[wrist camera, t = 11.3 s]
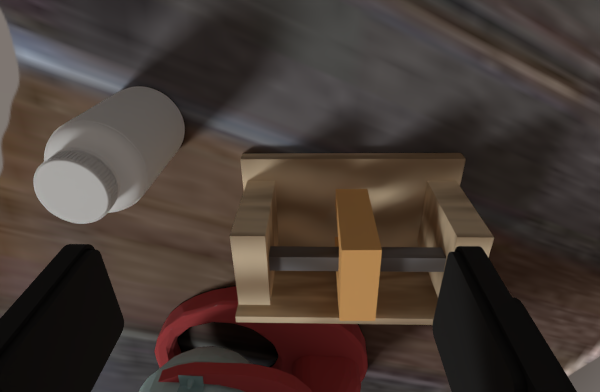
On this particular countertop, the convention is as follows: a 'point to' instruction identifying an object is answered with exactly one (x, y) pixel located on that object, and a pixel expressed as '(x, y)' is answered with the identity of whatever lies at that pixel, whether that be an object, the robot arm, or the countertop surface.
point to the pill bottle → (109, 155)
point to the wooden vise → (323, 229)
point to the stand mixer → (249, 377)
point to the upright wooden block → (357, 256)
